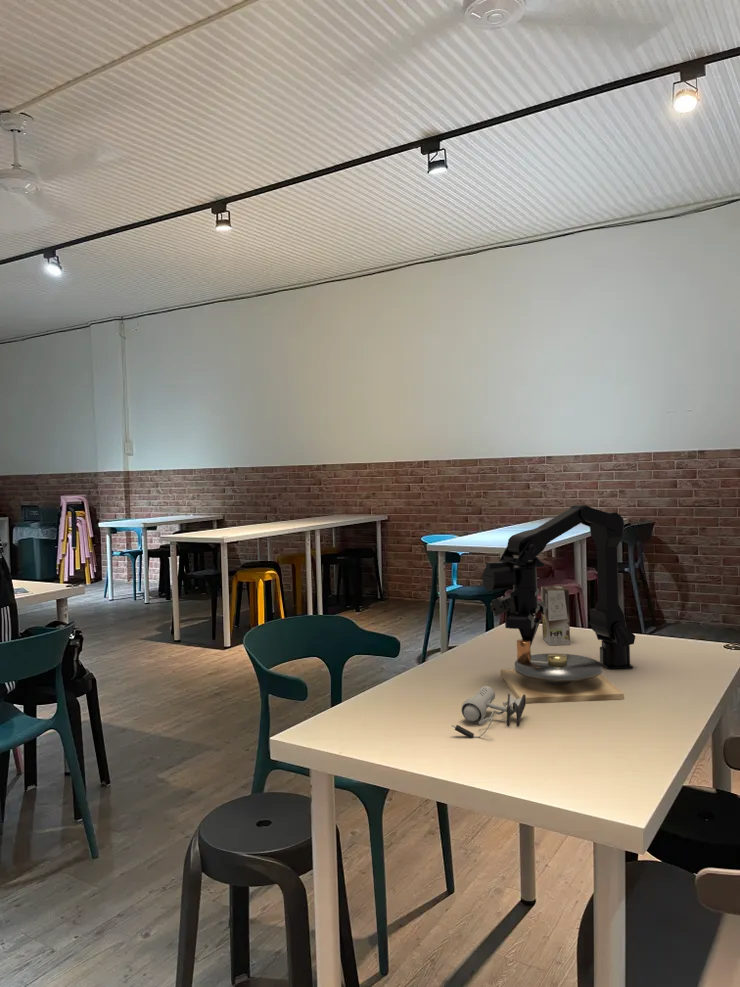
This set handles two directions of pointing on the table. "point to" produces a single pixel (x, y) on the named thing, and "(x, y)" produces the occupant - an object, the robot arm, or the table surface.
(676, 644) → the table surface
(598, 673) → the handwheel
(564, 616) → the coffee box
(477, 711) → the clip-on lamp
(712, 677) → the table surface
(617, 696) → the board
